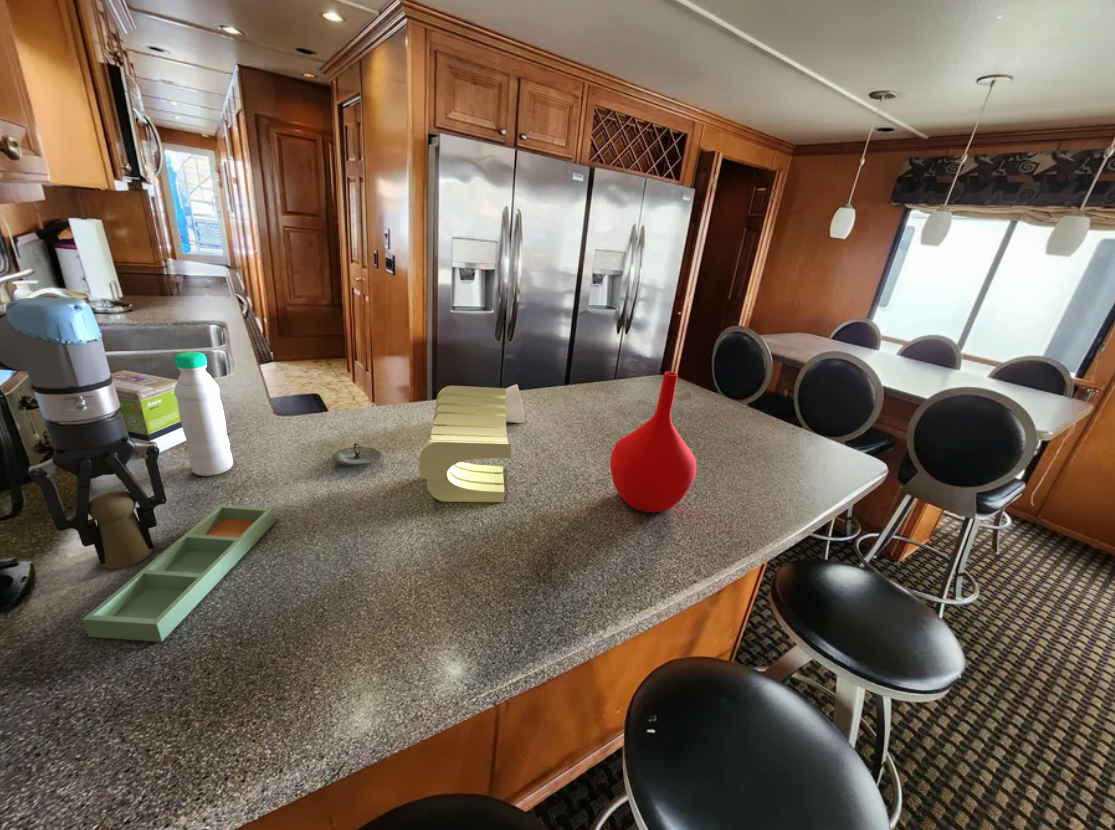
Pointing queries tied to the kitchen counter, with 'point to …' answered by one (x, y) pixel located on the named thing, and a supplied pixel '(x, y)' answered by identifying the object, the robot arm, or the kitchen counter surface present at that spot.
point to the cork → (119, 529)
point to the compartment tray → (179, 576)
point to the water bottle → (202, 416)
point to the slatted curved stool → (466, 445)
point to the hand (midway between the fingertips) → (127, 551)
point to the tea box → (149, 408)
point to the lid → (357, 456)
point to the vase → (654, 459)
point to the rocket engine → (514, 405)
